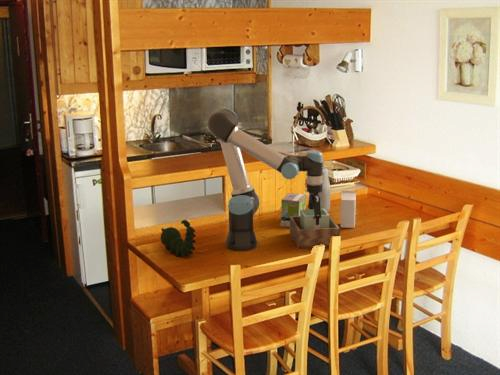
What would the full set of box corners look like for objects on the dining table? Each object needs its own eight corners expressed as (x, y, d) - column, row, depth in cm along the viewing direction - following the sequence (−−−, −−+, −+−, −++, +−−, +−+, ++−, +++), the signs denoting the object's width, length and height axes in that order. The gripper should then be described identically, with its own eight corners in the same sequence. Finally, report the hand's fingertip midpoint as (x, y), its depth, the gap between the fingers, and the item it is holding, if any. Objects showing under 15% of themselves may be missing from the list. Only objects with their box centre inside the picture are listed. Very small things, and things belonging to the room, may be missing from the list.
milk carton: (354, 228, 340) (355, 192, 335) (340, 227, 341) (341, 192, 337) (354, 224, 347) (355, 189, 342) (341, 223, 348) (342, 188, 343)
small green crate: (304, 232, 316) (304, 216, 314) (300, 225, 326) (300, 209, 324) (329, 230, 317) (329, 215, 315) (324, 224, 328) (324, 208, 326)
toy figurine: (200, 260, 303) (169, 242, 321) (201, 221, 297) (170, 205, 315) (183, 265, 297) (153, 246, 315) (183, 226, 291) (153, 209, 309)
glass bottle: (316, 212, 369) (317, 163, 362) (333, 214, 363) (334, 165, 356) (307, 216, 361) (308, 166, 354) (324, 219, 355) (324, 168, 348)
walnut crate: (298, 248, 312) (298, 230, 309) (289, 233, 333) (289, 216, 331) (339, 246, 314) (339, 228, 312) (328, 231, 335) (329, 214, 333)
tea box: (299, 228, 341) (299, 200, 338) (280, 226, 344) (280, 199, 341) (306, 220, 355) (306, 193, 351) (288, 218, 358) (288, 192, 354)
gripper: (327, 189, 305) (327, 234, 311) (317, 177, 328) (316, 219, 333) (312, 190, 304) (311, 235, 310) (302, 178, 327) (302, 220, 333)
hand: (314, 227), depth 322 cm, fingers closed on small green crate, 11 cm apart
